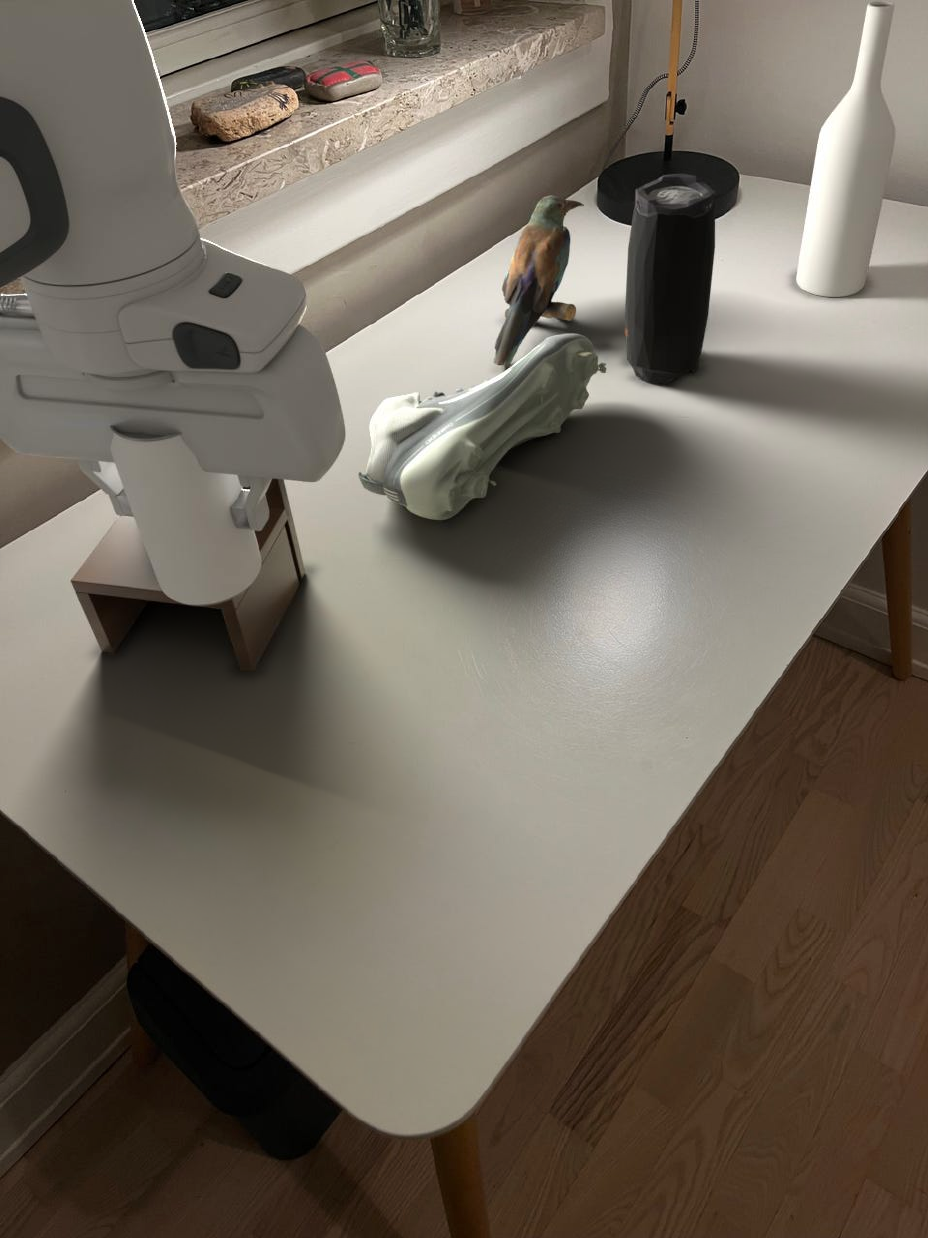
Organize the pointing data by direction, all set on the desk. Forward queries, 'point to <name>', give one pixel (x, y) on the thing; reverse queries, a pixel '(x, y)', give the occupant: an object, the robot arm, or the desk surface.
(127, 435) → the can
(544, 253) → the bird figurine
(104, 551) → the wooden doll chair
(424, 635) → the desk surface
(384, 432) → the baseball cleat
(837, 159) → the bottle
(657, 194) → the portable speaker
